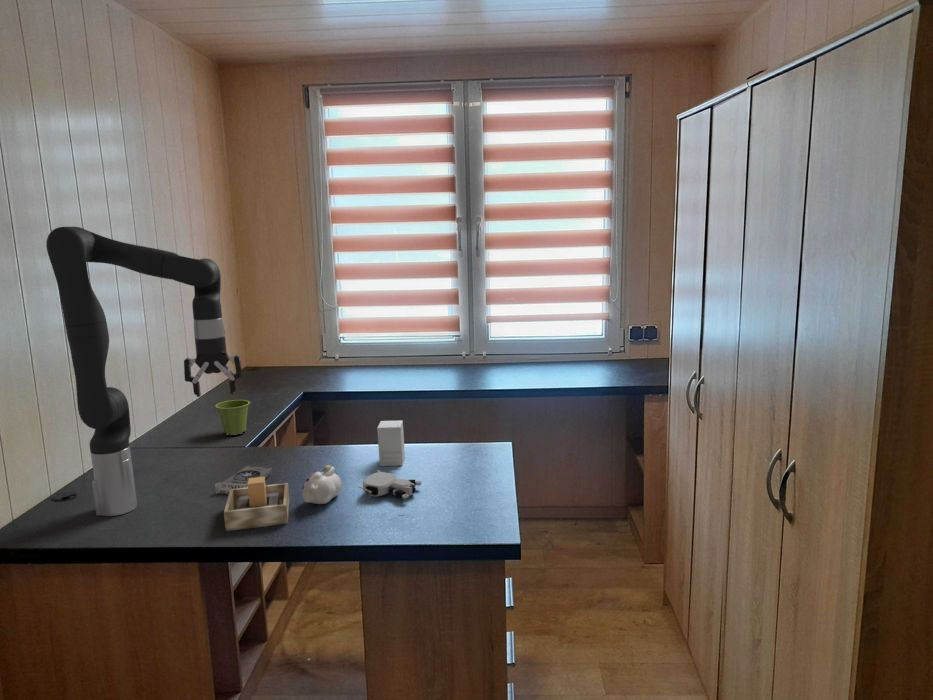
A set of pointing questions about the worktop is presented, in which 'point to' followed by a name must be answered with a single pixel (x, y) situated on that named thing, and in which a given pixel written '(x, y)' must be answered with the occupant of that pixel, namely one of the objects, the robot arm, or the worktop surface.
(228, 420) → the plant pot
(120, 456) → the robot arm
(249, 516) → the walled box
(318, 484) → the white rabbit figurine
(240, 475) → the graphics card
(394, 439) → the supplement box
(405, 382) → the worktop surface
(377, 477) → the robot toy
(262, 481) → the orange rectangular block
